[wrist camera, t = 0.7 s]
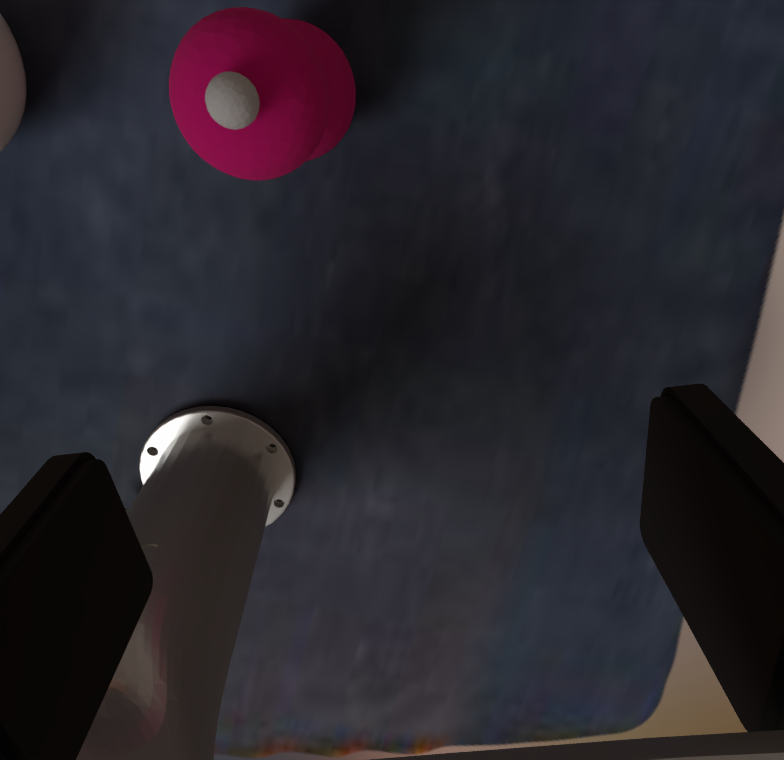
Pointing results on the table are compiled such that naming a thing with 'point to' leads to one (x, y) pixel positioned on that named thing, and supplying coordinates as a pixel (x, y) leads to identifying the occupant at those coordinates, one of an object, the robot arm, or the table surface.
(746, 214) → the table surface
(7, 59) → the lidded bowl
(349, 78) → the pepper mill
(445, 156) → the table surface
